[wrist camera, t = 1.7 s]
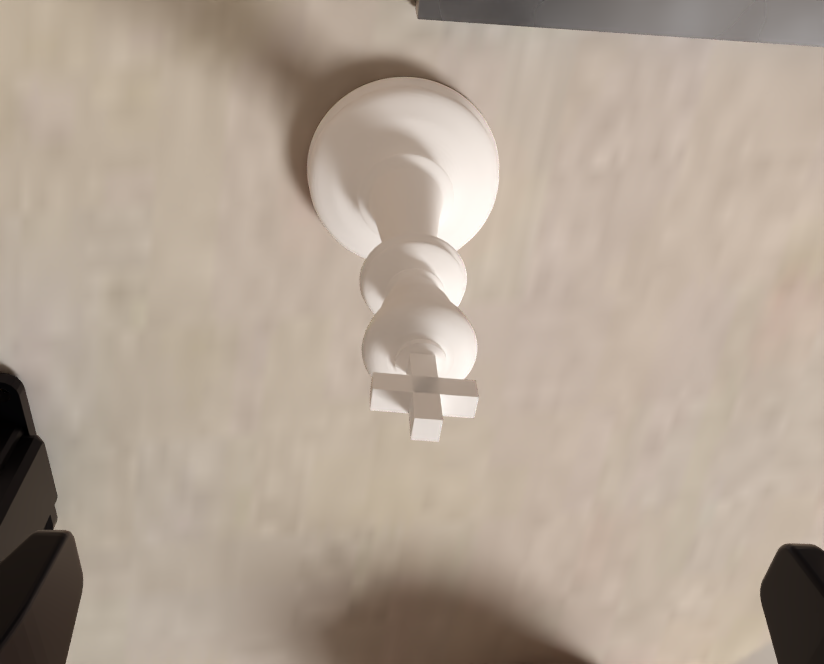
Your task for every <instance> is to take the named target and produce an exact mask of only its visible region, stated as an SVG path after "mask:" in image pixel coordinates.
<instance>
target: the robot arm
mask: <svg viewBox="0 0 824 664" xmlns="http://www.w3.org/2000/svg"><path fill="white" fill-rule="evenodd" d="M0 388H1V389H5V390H6V391H8V392H9V394H8V393H4V392H2V391H1V390H0V664H66V659H67V655H68V651H69V646H70V642H71V638H72V634H73V629H74V625H75V621H76V616H77V612H78V608H79V604H80V599H81V595H82V589H83V573H82V568H81V564H80V560H79V556H78V551H77V547H76V543H75V539H74V536H73V535H72V533H71V532H69V531H66V530H53V529H54V527H55V524H56V522H57V513H56V509H55V506H54V505H55V502H56V500H57V492H56V488H55V484H54V480H53V476H52V472H51V468H50V464H49V460H48V456H47V452H46V448H45V444H44V442H43V441H42V439H41V438H40V437H39V436H37V435H36V431H35V427H34V423H33V419H32V415H31V411H30V407H29V403H28V399H27V395H26V392H25V388H24V385H23V384H22V382H21V381H20V380H19V379H18V378H17V377H15V376H12V375H10V374H5V373H0ZM760 597H761V603H762V607H763V611H764V614H765V618H766V621H767V625H768V629H769V632H770V636H771V640H772V643H773V647H774V650H775V654H776V658H777V661H778V664H824V551H823V550H822V549H821V548H819V547H817V546H815V545H812V544H784V545H783V546H781V547H780V548H779V549H778V551H777V553H776V555H775V557H774V559H773V561H772V563H771V565H770V567H769V569H768V571H767V573H766V575H765V577H764V579H763V581H762V583H761V588H760Z"/></svg>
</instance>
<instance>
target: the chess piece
mask: <svg viewBox="0 0 824 664" xmlns="http://www.w3.org/2000/svg"><path fill="white" fill-rule="evenodd" d="M307 179H308V185H309V190H310V195H311V199H312V203H313V206H314V208H315V211H316V213H317V215H318V217H319V219H320V221H321V222H322V224H323V225H324V227H325V228H326V230H327V231H328V232H329V233H330V234H331V236H332V237H333V238H334V239H335V240H336V241H337V242H339V243H340V244H341V245H342V246H343V247H345V248H346V249H348V250H349V251H351V252H352V253H354V254H356V255H358V256H360V257H362V258H364V259H365V261H364V263H363V266H362V269H361V272H360V290H361V293H362V296H363V298H364V300H365V302H366V304H367V305H368V307H369V309H370V310H371V311H372V312H373V314H374V317H373V318H372V320H371V322H370V324H369V325H368V327H367V330H366V332H365V335H364V338H363V343H362V357H363V362H364V365H365V367H366V369H367V371H368V373H369V374H370V376H371V377H372V382H371V389H370V410H372V411H385V412H398V413H409V421H410V436H411V440H421V441H435V442H439V438H440V433H441V428H442V423H443V416H451V417H464V418H474V416H475V412H476V408H477V404H478V399H479V395H478V389H477V384H476V380H463V379H464V378H465V377H466V376H467V375H468V373H469V372H470V370H471V369H472V367H473V365H474V362H475V360H476V356H477V339H476V335H475V332H474V329H473V327H472V325H471V324H470V322H469V320H468V319H467V318H466V316H465V315H464V314H463V313H462V312H461V310H460V309H459V308H458V306H459V304H460V302H461V300H462V298H463V295H464V293H465V289H466V284H467V272H466V268H465V265H464V262H463V260H462V258H461V256H460V255H459V254H458V252H457V251H456V250H458V249H459V248H461V247H462V246H463V245H465V244H466V243H467V242H468V241H469V240H471V239H472V238H473V237H474V236H475V234H476V233H477V232H478V231H479V230H480V228H481V227H482V226H483V224H484V223H485V221H486V220H487V218H488V216H489V214H490V212H491V210H492V208H493V205H494V202H495V199H496V195H497V190H498V183H499V157H498V151H497V146H496V142H495V139H494V136H493V134H492V131H491V129H490V127H489V125H488V124H487V122H486V120H485V119H484V117H483V116H482V115H481V113H480V112H479V111H478V110H477V108H476V107H475V106H474V105H473V104H472V103H471V102H470V101H468V100H467V99H466V98H465V97H464V96H462V95H461V94H459V93H458V92H456V91H455V90H453V89H451V88H449V87H447V86H445V85H443V84H440V83H437V82H434V81H431V80H427V79H423V78H416V77H392V78H386V79H381V80H377V81H374V82H371V83H368V84H365V85H363V86H361V87H359V88H357V89H355V90H353V91H352V92H350V93H349V94H347V95H346V96H344V97H343V98H342V99H340V100H339V101H338V102H337V103H336V104H335V105H334V106H333V107H332V108H331V109H330V110H329V111H328V112H327V114H326V115H325V116H324V118H323V119H322V120H321V122H320V124H319V125H318V127H317V129H316V131H315V133H314V136H313V138H312V141H311V144H310V148H309V152H308V159H307Z"/></svg>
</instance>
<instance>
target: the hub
mask: <svg viewBox="0 0 824 664" xmlns="http://www.w3.org/2000/svg"><path fill="white" fill-rule="evenodd" d="M415 9H416V14H417V18H418V19H426V20H440V21H454V22H469V23H483V24H498V25H512V26H527V27H541V28H556V29H570V30H585V31H599V32H614V33H628V34H643V35H657V36H672V37H686V38H701V39H715V40H730V41H744V42H759V43H773V44H788V45H802V46H817V47H824V0H416V8H415Z"/></svg>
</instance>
